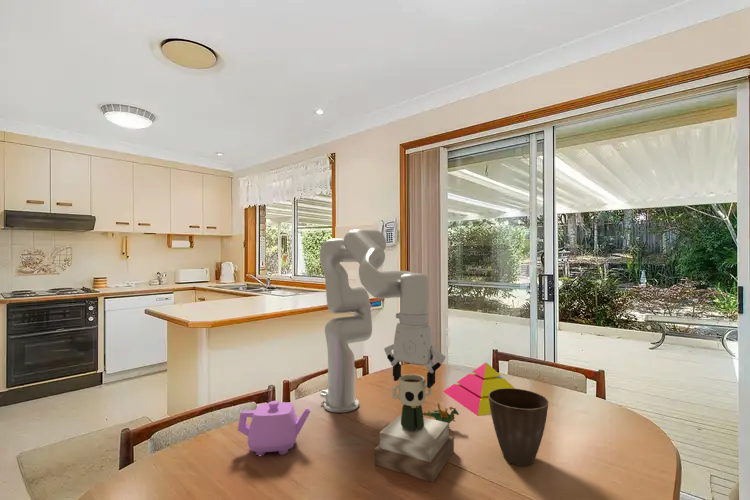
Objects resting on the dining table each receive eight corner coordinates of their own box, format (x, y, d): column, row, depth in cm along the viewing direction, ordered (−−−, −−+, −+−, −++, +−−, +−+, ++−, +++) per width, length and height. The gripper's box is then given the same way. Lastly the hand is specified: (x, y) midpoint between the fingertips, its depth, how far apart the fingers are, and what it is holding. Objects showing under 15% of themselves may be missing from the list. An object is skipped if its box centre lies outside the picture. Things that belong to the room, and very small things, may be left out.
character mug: (395, 435, 97) (395, 384, 97) (389, 422, 104) (389, 375, 104) (436, 431, 99) (435, 381, 99) (427, 419, 106) (427, 372, 106)
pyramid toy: (537, 408, 134) (537, 368, 134) (477, 418, 126) (476, 375, 126) (493, 385, 157) (493, 351, 158) (440, 392, 149) (440, 356, 150)
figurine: (460, 430, 116) (459, 404, 116) (421, 431, 115) (421, 404, 115) (457, 426, 119) (457, 400, 119) (419, 427, 118) (419, 401, 119)
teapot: (232, 461, 99) (232, 413, 100) (243, 438, 112) (243, 395, 112) (309, 456, 102) (309, 409, 102) (312, 434, 114) (311, 392, 114)
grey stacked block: (374, 464, 98) (374, 433, 98) (401, 437, 111) (401, 410, 112) (432, 482, 90) (432, 448, 90) (453, 451, 104) (453, 422, 104)
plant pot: (482, 443, 108) (482, 387, 108) (535, 444, 107) (534, 387, 107) (498, 474, 93) (497, 409, 93) (559, 474, 92) (558, 409, 93)
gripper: (379, 318, 102) (378, 381, 102) (440, 325, 94) (439, 394, 94) (391, 314, 109) (391, 373, 109) (449, 320, 100) (449, 384, 100)
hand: (413, 382), depth 101 cm, fingers open, 9 cm apart
